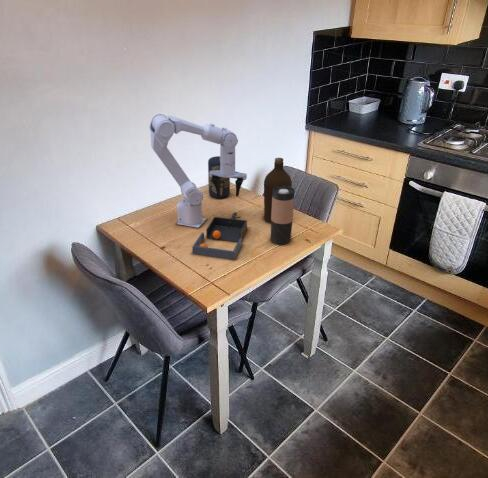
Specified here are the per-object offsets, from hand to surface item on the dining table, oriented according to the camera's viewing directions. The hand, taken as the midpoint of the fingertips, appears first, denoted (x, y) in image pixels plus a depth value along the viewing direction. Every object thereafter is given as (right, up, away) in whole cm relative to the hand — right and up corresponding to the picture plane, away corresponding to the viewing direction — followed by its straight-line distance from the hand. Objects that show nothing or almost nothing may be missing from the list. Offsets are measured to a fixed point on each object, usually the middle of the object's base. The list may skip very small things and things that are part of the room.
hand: (228, 194), depth 171 cm
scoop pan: (+1, -14, -5) cm, 14 cm away
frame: (-4, -21, -18) cm, 28 cm away
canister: (-3, +2, +23) cm, 23 cm away
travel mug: (+19, -18, -13) cm, 29 cm away
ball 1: (-9, -21, -20) cm, 30 cm away
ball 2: (-4, -16, -12) cm, 21 cm away
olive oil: (+19, -10, +2) cm, 22 cm away
